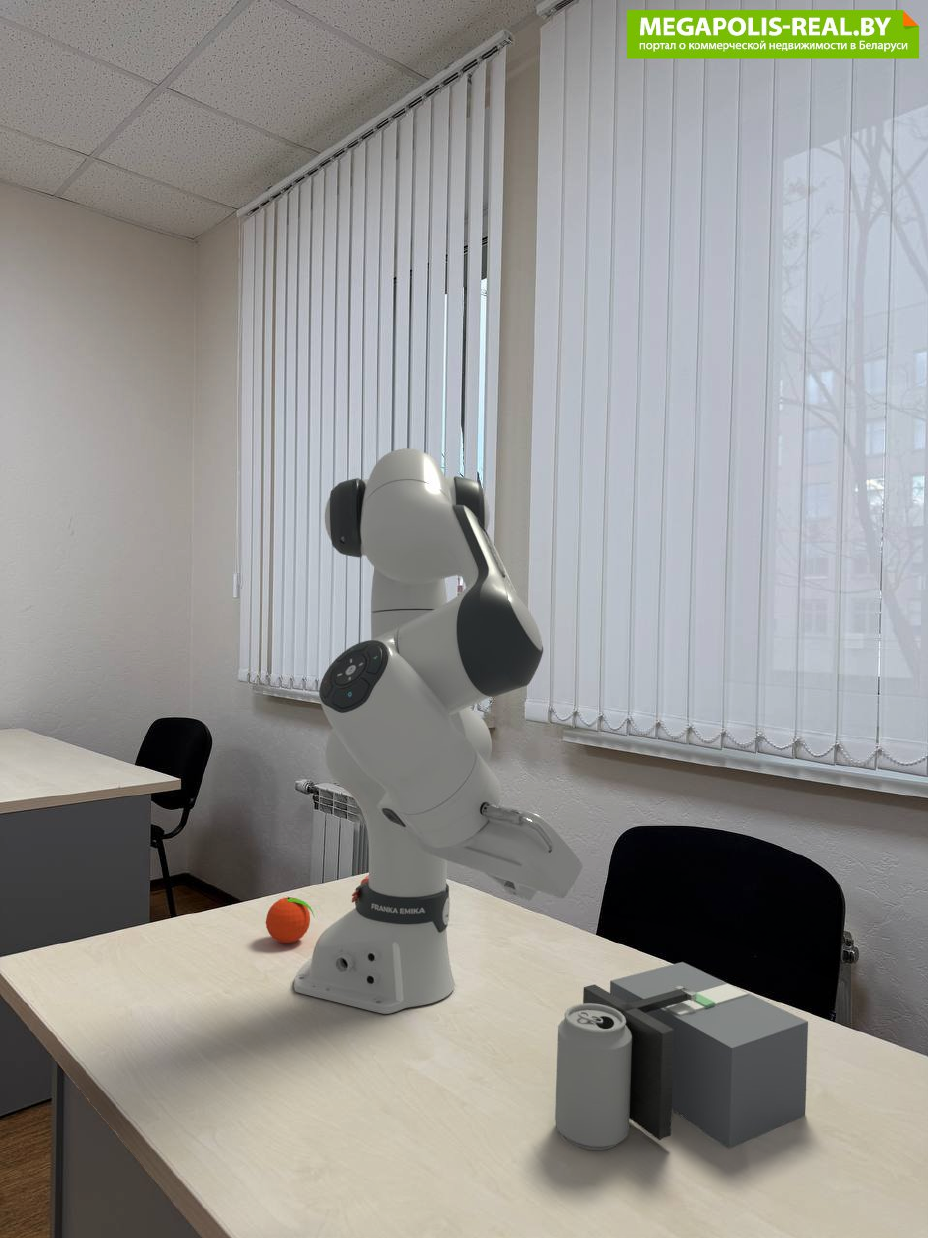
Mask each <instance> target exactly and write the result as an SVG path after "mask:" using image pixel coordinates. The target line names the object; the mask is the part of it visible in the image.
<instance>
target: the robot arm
mask: <svg viewBox="0 0 928 1238" xmlns="http://www.w3.org/2000/svg"><path fill="white" fill-rule="evenodd" d="M329 493H330V494H329V498H328V500H327V502H326V506H325V509H324V525H325V529H326V532H327V535H328V537H329V539H330V541H331V546H332V547H333V548H334V549H335V550H336V551H337V552H338V553H339V554H341V555H344V556H349V557H353V558H358V559H359V558H362V557H363V556H364V557H366V558H367V560H368V561H369V562H370V564H371V565H372V566H373V575H372V583H371V591H370V592H371V594H370V595H371V596H370V635H371V636H370V639H369V640H364V641H361V642H358V643H356V644H354V645H352V646H351V647H349V648H347V649H346V650H345V651H343V652H342V653H340V655H338V656H337V658H335V659H334V661H333V662H332V663H331V664H330V666H329V667H328V668H327V670H326V671H325V673H324V675H323V677H322V680H321V682H320V685H319V690H318V698H319V702H320V705H321V707H322V710H323V713H324V714H325V717H326V719H327V720H328V723H329V724H330V726H331V727H332V729H331V731H330V733H329V735H328V738H327V741H326V745H325V751H324V752H325V754H324V755H325V763H326V766H327V770H328V772H329V774H330V776H331V778H332V779H333V780H334V781H335V783H336V784H337V785H338V786H339V787H341V788H342V789H344V791H346V792H347V793H348V794H349V795H350V796H351V797H352V798H353V799H354V800H355V802H356V804H357V805H358V807H359V810H360V811H361V813H362V815H363V818H364V821H365V826H366V829H367V831H366V832H367V837H368V839H367V841H368V875H366V876H365V877H364V878H363V879H362V880H361V882H360V885H358V886H357V887H356V888H355V889H354V890H355V891H354V892H353V893H352V894H351V897H352V898H351V903H354V905H355V907H354V908H353V909H352V910H350V911H349V912H347V913H346V914H344V915H343V916H342V917H340V918H339V919H338V920H336V921H334V923H331V925H330V926H328V927H327V928H326V929H325V930H324V931H323V932H322V933H321V934H320V936H319V938H318V939H317V941H316V942H315V945H314V948H313V953H312V956H311V959H309V960H308V961H306V962H305V963H304V964H303V965H302V966H301V967H300V968H299V969H298V971H297V972H296V974H295V976H294V983H293V989H294V991H295V992H296V993H299V994H302V995H306V996H311V997H314V998H318V999H322V1000H325V1001H326V1000H327V1001H329V1002H331V1001H332V1002H335V1003H338V1004H343V1005H347V1006H349V1007H355V1008H359V1009H363V1010H366V1011H371V1012H375V1013H379V1014H384V1015H386V1014H387V1015H388V1014H389V1015H390V1014H392V1013H395V1012H399V1011H401V1010H403V1009H407V1008H412V1007H419V1006H426V1005H429V1004H433V1003H436V1002H439V1001H441V1000H442V999H445V998H447V997H448V996H449V995H451V993H452V992H453V991H454V989H455V986H456V983H455V980H454V977H453V972H452V967H451V963H450V955H449V949H448V948H449V947H448V935H447V934H448V933H447V928H448V926H449V925H448V924H449V922H450V903H451V899H450V887H449V884H448V883H447V870H448V867H447V866H448V861H450V862H452V863H455V864H458V865H461V866H463V867H467V868H470V869H473V870H476V871H479V872H481V873H484V874H485V875H487V876H488V878H490V879H491V880H493V881H495V882H496V883H497V884H499V885H500V886H501V888H502V889H503V890H504V891H505V893H507V894H509V895H512V896H515V897H518V898H521V899H523V900H526V901H528V902H529V901H531V900H532V899H533V898H534V896H535V894H536V893H537V892H539V893H542V894H545V895H548V896H552V897H554V898H556V899H557V898H558V899H564V898H565V897H566V896H568V894H569V893H570V891H571V890H572V888H574V885H575V884H576V882H577V881H578V879H579V877H580V875H581V873H582V870H583V865H584V864H583V862H582V859H581V858H580V857H579V856H578V854H577V853H576V851H574V849H573V848H572V847H571V846H570V845H569V843H568V842H567V841H566V840H565V838H564V837H563V836H562V835H561V834H560V833H559V832H558V831H557V830H556V829H555V828H554V827H553V825H552V824H551V823H549V822H548V820H546V819H545V818H543V816H540V815H539V814H537V813H535V812H533V811H529V810H525V809H522V808H517V807H514V806H509V805H505V804H502V803H501V804H500V801H501V798H502V797H501V796H502V786H501V782H500V781H499V779H498V777H497V776H496V775H495V774H494V772H493V770H492V769H491V768H490V767H489V762H490V761H491V760H490V759H491V756H492V751H493V750H492V749H493V742H492V741H493V740H492V736H491V733H490V729H489V727H488V726H487V723H486V721H484V719H483V718H482V717H481V716H480V715H479V714H477V713H476V712H475V711H474V710H473V709H472V708H471V706H475V705H476V704H478V703H481V702H483V701H486V700H488V699H489V698H492V697H493V698H495V697H499V696H500V695H504V694H507V693H510V692H512V691H516V690H518V689H521V688H524V687H526V686H528V685H529V684H530V683H531V681H532V679H533V678H534V676H535V674H536V672H537V670H538V668H539V665H540V663H541V660H542V657H543V655H544V647H543V643H542V642H543V641H542V636H541V633H540V630H539V627H538V625H537V623H536V620H535V619H534V617H533V614H532V613H531V612H530V610H529V609H528V607H527V606H526V604H525V603H524V602H523V601H522V599H521V598H520V597H519V594H518V592H517V590H516V589H515V586H514V584H513V582H512V580H511V578H510V576H509V572H507V569H506V567H505V565H504V563H503V561H502V559H501V556H500V554H499V552H498V550H497V548H496V547H495V544H494V543H493V541H492V539H491V537H490V535H489V533H488V528H489V525H490V513H491V512H490V506H489V503H488V500H487V498H486V495H485V494H484V488H483V487H482V486H481V485H480V483H479V482H478V481H476V480H474V479H471V478H466V477H462V476H456V475H455V476H454V477H453V478H451V477H450V478H449V477H446V476H445V474H444V472H443V470H442V468H441V467H440V464H438V462H437V461H436V460H435V459H434V458H433V457H432V456H431V455H429V454H428V453H425V452H424V451H423V450H420V449H416V448H408V447H407V448H398V449H394V450H392V451H390V452H388V453H386V454H385V455H383V456H382V457H380V458H379V460H378V461H377V462H376V463H375V464H374V466H373V468H372V470H371V473H370V474H369V477H368V478H367V479H366V478H365V479H361V478H359V477H356V478H351V479H348V480H345V481H341V482H339V483H338V484H337V485H336V486H335V487H333V488H332V489H331V491H330V492H329ZM460 575H461V577H462V579H463V583H464V584H465V589H463V590H462V591H461V592H460V593H459V594H458V595H457V596H455V597H454V598H452V599H451V600H449V601H448V597H447V585H446V580H445V579H446V578H450V577H454V576H460Z"/></svg>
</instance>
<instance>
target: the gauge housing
mask: <svg viewBox="0 0 928 1238" xmlns="http://www.w3.org/2000/svg"><path fill="white" fill-rule="evenodd" d="M677 986H682V987H684V988H686V989H688V990H690V991H692V992H694V993H696V994H697V997H696V1000H693V1001H690V1000H688V1001H684V1002H681V1003H677V1004H674V1005H671V1006H667V1007H664V1008H660V1009H657V1010H654V1011H650V1012H647V1013H646V1014H647V1015H649V1016H651V1017H653V1018H654V1019H656V1020H658V1021H660V1022H661V1023H663V1024H665V1025H667V1026H668V1027H670V1028H672V1029H674V1052H673V1084H672V1112H675V1113H676V1114H678V1115H679V1116H681V1117H682V1118H684V1120H686V1121H688V1122H690V1124H692V1125H694V1126H695V1127H697V1128H698V1129H699V1130H702V1131H703V1132H704V1133H705V1134H707V1135H709V1137H711V1138H713V1139H714V1140H716V1141H717V1142H719V1143H720V1144H721V1145H723V1146H725V1147H726V1148H728V1149H731V1148H733V1147H736V1146H738V1145H740V1144H743V1143H746V1142H747V1141H750V1140H753V1139H754V1138H756V1137H757V1138H758V1137H759V1136H760V1135H763V1134H765V1133H768V1132H770V1131H772V1130H775V1129H777V1128H779V1127H782V1126H784V1125H786V1124H788V1123H790V1122H792V1121H795V1120H797V1119H799V1118H802V1117H804V1116H806V1108H807V1107H806V1106H807V1105H806V1104H807V1103H806V1102H807V1074H808V1073H807V1072H808V1071H807V1070H808V1037H809V1035H808V1034H809V1033H808V1031H809V1021H808V1020H806V1019H803V1018H802V1017H800V1016H798V1015H795V1014H793V1013H791V1012H789V1011H787V1010H784V1009H783V1008H780V1007H778V1006H776V1005H774V1004H772V1003H770V1002H769V1001H766V1000H764V999H762V998H759V997H758V996H755V995H753V994H751V993H749V992H747V991H744V990H743V989H740V988H739V987H736V986H734V985H732V984H730V983H728V982H725V981H724V980H722V979H719V978H717V977H715V976H713V975H712V974H709V973H706V972H704V971H702V970H701V969H699V968H696V967H695V966H692V965H690V964H688V963H685V962H684V961H681V962H677V963H673V964H670V965H665V966H662V967H659V968H658V967H657V968H655V969H651V970H646V971H642V972H639V973H636V974H630V975H627V976H624V977H620V978H615V979H611V980H610V983H609V993H611V994H612V995H614V996H616V997H618V998H619V999H621V1000H623V1001H625V1002H626V1003H632V1002H635V1001H639V1000H642V999H646V998H650V997H653V996H657V995H660V994H664V993H667V992H671V991H674V990H675V987H677Z"/></svg>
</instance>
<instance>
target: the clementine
mask: <svg viewBox="0 0 928 1238" xmlns="http://www.w3.org/2000/svg"><path fill="white" fill-rule="evenodd" d="M310 912H311V913H312V916H313V918H315V914H314V911H313V909H312V907H311V906H310V905H309V903H307V902H305V901H304V900H303V899H299V898H297V897H291V896H287V897H282V898H280V899H278V900H277V901H275V902H274V903H273V904H272V905H271V907H270V908H269V910H268V911H267V914H266V918H265V926H266V930H267V932H268V934H269V935H270V937H271V938H272V939H274V940H275V941H277V942H279V943H281V944H292V943H296V942H297V941H299V940H300V939H302V938H303V937H304V935H305V934H307V932H308V929H309V927H310V923H311V914H310Z"/></svg>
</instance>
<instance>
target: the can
mask: <svg viewBox="0 0 928 1238" xmlns="http://www.w3.org/2000/svg"><path fill="white" fill-rule="evenodd" d="M625 1024H626V1019H625V1017H624V1016H623V1015H622V1013H621V1012H619V1011H617V1010H616V1009H614V1008H611V1007H608V1006H605V1005H600V1004H591V1003H586V1004H583V1003H579V1004H575V1005H572V1006H570V1007H568V1008H567V1009H566V1010H565V1012H564V1018H563V1020H562V1021H560V1022H559V1024H558V1025H557V1043H556V1047H557V1050H556V1076H555V1077H556V1080H555V1082H556V1085H555V1108H554V1109H555V1111H554V1113H555V1114H554V1116H555V1117H554V1120H555V1126H556V1128H557V1129H558V1131H559V1132H560V1133H561V1134H562V1135H563V1136H564V1137H565V1138H566V1140H567V1141H569V1142H570V1143H571V1144H572V1145H575V1146H577V1147H578V1148H581V1149H585V1150H590V1151H604V1150H609V1149H612V1148H613V1147H616V1146H617V1145H618V1144H619V1143H621V1142H622V1141H623V1140H624V1139H625V1138H627V1137H628V1134H629V1131H630V1120H631V1119H630V1087H631V1055H632V1035H631V1031H630V1030H629V1029H628V1027H627V1026H626V1025H625Z"/></svg>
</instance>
